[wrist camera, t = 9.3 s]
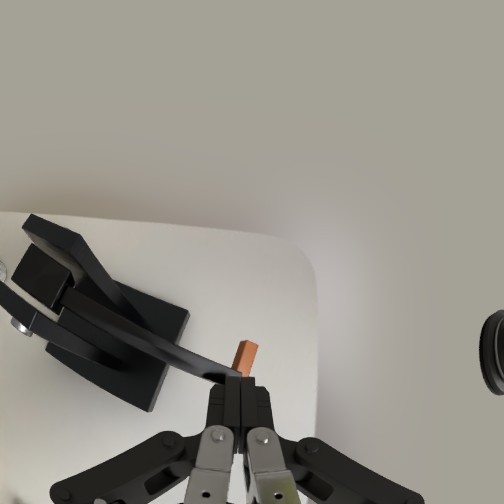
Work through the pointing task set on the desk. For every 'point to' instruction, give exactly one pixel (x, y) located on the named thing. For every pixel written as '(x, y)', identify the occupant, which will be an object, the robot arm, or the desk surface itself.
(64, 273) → the lever
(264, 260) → the desk surface
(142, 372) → the bracket
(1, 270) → the photo printer
